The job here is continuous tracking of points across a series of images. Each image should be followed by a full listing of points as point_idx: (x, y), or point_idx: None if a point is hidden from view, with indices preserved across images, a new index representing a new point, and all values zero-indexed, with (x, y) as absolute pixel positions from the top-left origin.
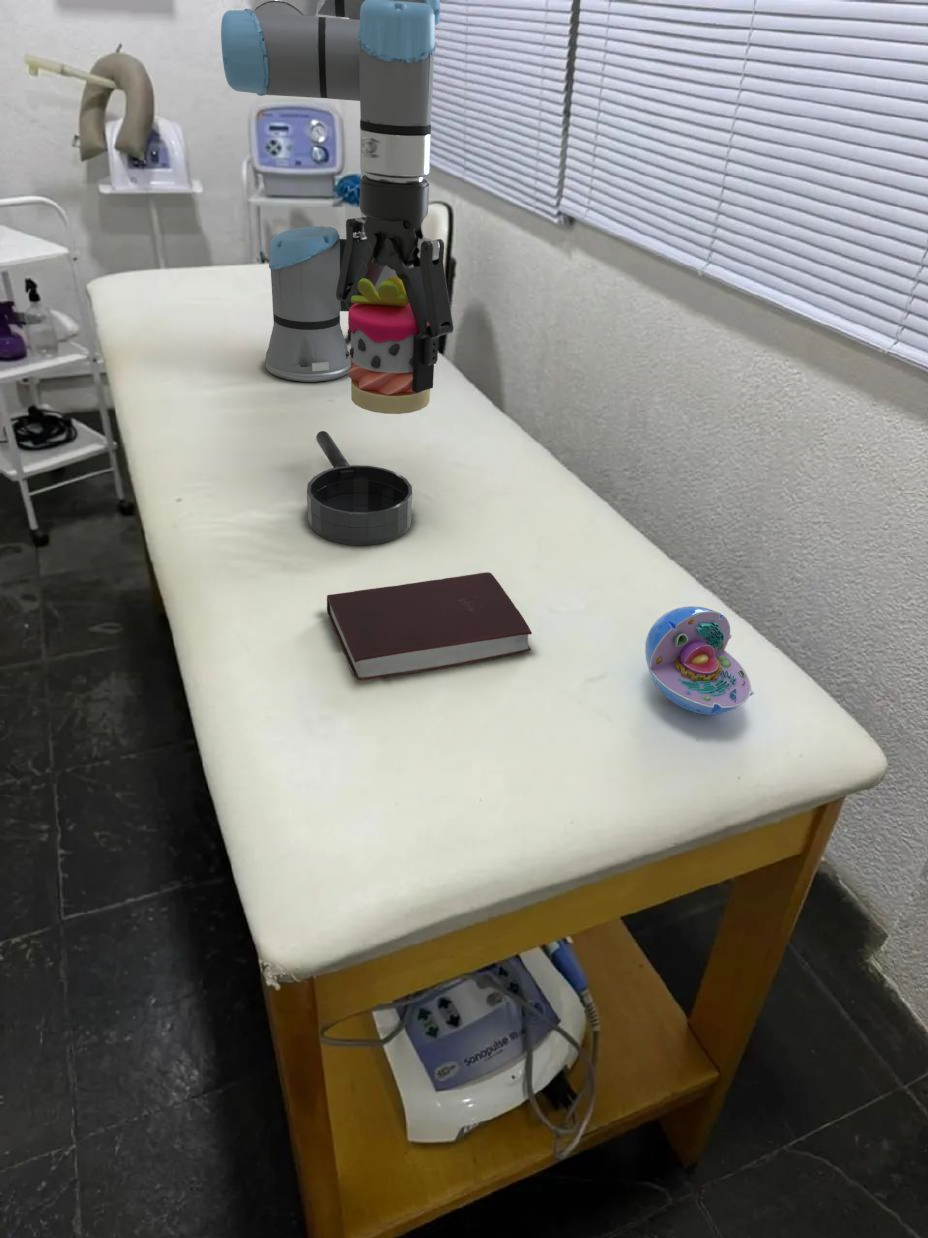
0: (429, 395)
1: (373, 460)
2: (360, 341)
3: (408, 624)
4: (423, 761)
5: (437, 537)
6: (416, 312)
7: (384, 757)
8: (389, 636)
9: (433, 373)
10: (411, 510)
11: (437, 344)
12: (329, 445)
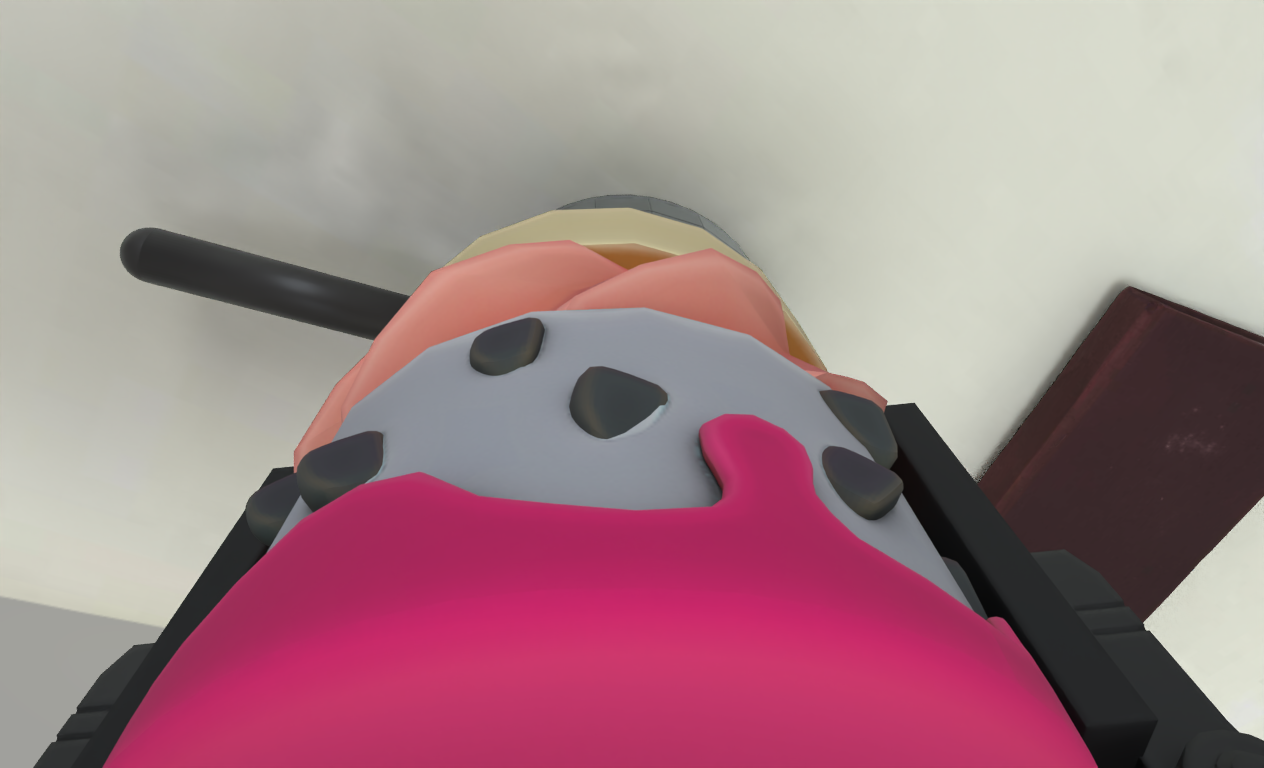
0: (774, 291)
1: (256, 58)
2: None
3: (1122, 566)
4: (1257, 629)
5: (841, 219)
6: None
7: (1202, 658)
8: None
9: (957, 459)
10: (746, 258)
11: (1188, 686)
12: (277, 309)
